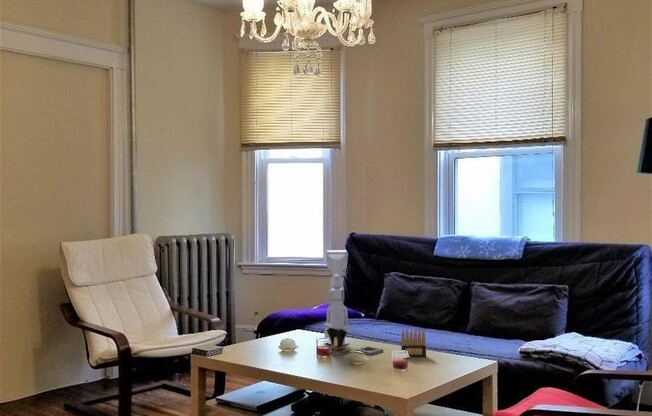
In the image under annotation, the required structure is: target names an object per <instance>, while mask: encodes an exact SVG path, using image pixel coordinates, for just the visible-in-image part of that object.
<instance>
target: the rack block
mask: <svg viewBox="0 0 652 416" xmlns="http://www.w3.org/2000/svg"><path fill="white" fill-rule="evenodd" d="M330 348H331V351H330V353H331V354H330V355H331V356H332V355H333V356H337V357H338V356H343V355H346V354H350V353H351V352H350V351H352V349H350V348H347V347H343V346H341V351H339V352H336V351H334V346H332V347H330ZM349 352H350V353H349Z"/></svg>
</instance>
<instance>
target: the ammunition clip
mask: <svg viewBox="0 0 652 416" xmlns="http://www.w3.org/2000/svg"><path fill="white" fill-rule="evenodd" d="M426 341H427V340H426V332H425V329H422V332H421V328H419V329H418V332H417V329H416V328H415V329H414V333H413V329H412V328H411V329H410V332H409V330H408V329H407V328H406V331H405V330H404V329H402V331H401V341H400V343H401V344H400V345H401V347H400V351H401V350H405V351H406V350H407V351H408V354H409V356H410V357H411V358H427V348H426V346H427V345H426Z"/></svg>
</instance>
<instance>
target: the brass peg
mask: <svg viewBox="0 0 652 416" xmlns="http://www.w3.org/2000/svg"><path fill="white" fill-rule="evenodd" d="M333 347H334V351H336V352H339V351H341V347H342V346H341V347H338V339H337V336H334V346H333Z"/></svg>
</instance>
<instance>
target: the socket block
mask: <svg viewBox="0 0 652 416" xmlns="http://www.w3.org/2000/svg"><path fill="white" fill-rule="evenodd" d="M355 350H356V351H361V352H363V353H365V354H364V355H367V356H374V355H377V354H380V353H383V352H384V348H379V347H375V346H374V347H373V346H370V345H367V346H363V347H362V346H361V347H360V348H355V349H354V351H355Z"/></svg>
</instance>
